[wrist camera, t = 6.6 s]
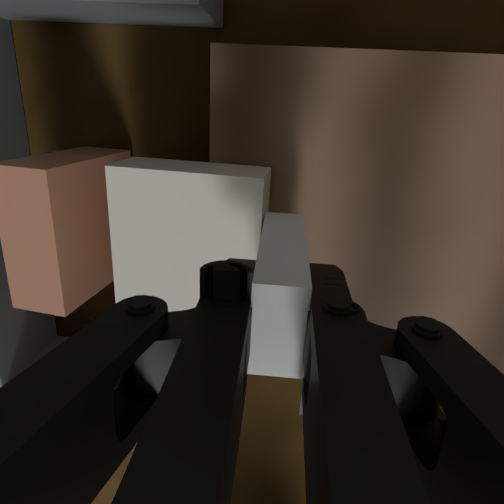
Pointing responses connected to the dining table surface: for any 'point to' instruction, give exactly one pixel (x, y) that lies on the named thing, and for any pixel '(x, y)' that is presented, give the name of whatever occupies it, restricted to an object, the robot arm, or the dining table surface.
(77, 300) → the terracotta tile
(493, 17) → the dining table surface
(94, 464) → the robot arm
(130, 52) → the dining table surface
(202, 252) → the cream tile
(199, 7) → the box
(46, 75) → the dining table surface
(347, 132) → the walnut plate
